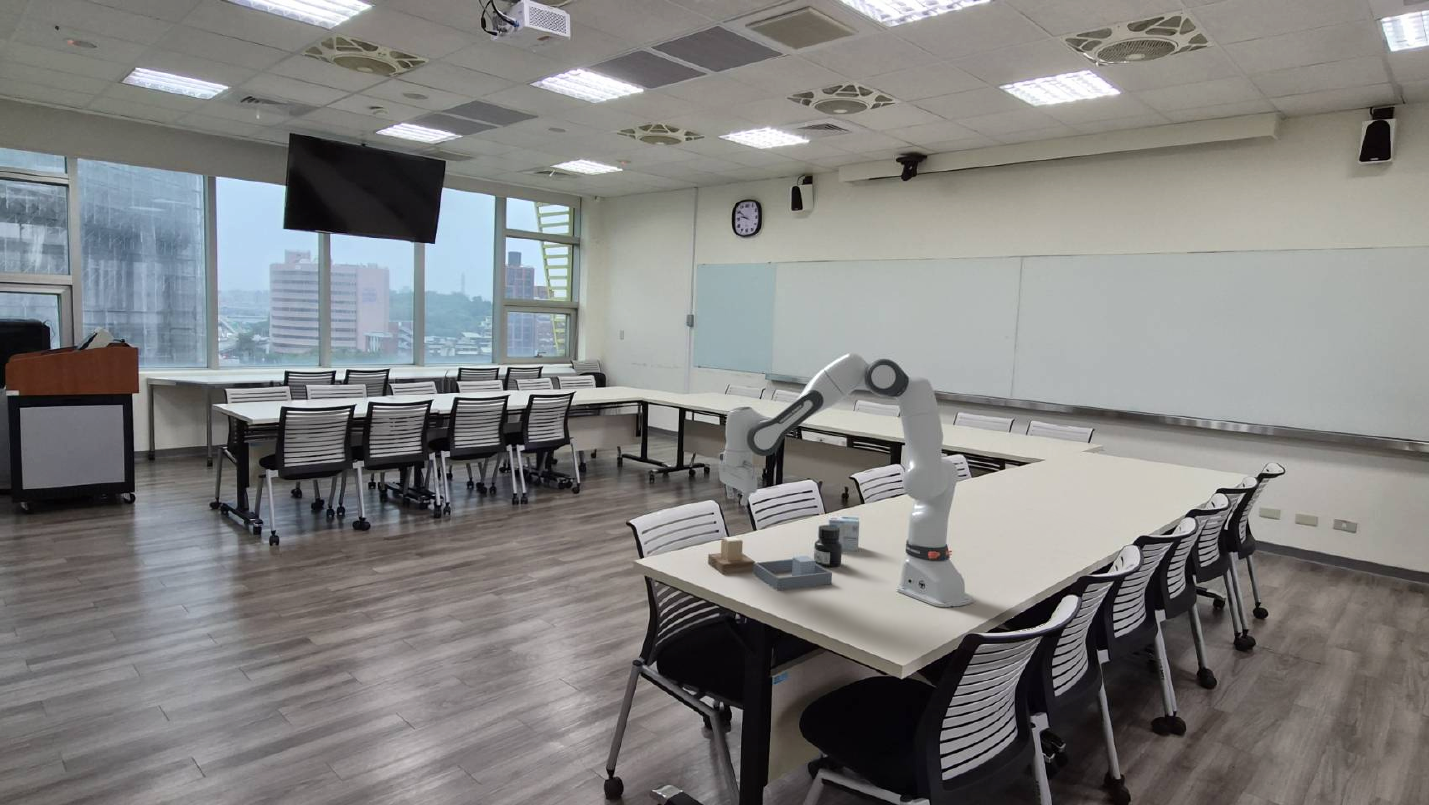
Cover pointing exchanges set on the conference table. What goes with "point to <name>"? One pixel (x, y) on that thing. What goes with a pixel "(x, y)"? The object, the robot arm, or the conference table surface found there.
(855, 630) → the conference table surface
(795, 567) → the plain box
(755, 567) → the parts tray
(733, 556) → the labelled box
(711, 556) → the walnut stand
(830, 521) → the light bulb box
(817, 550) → the ink bottle
